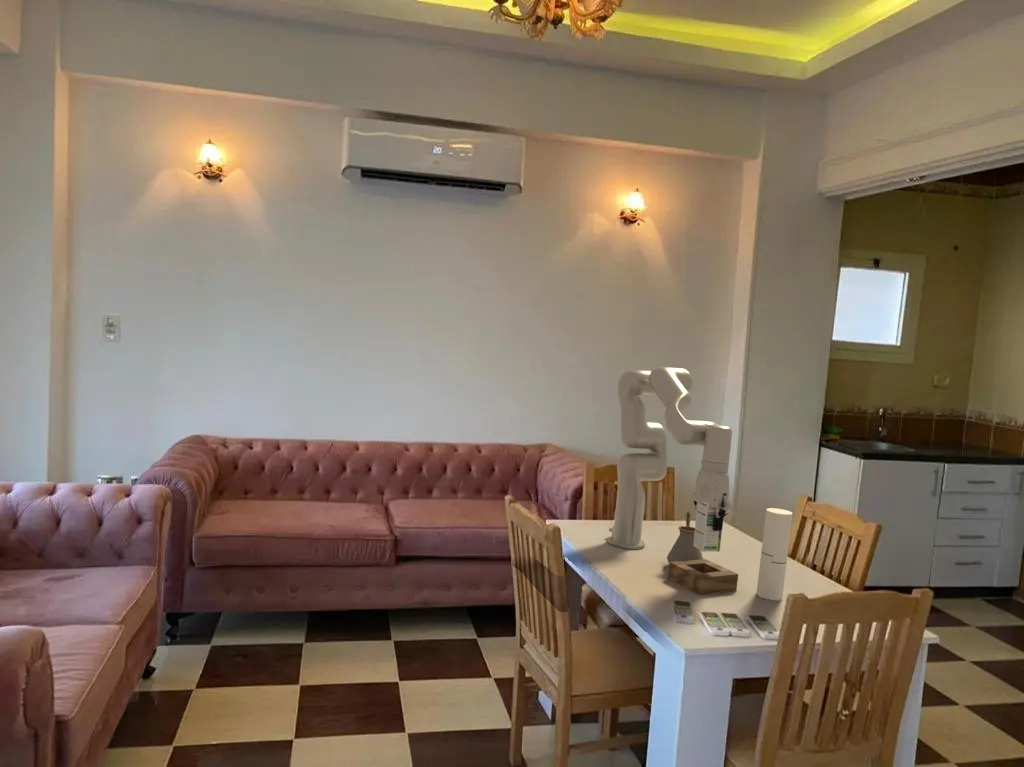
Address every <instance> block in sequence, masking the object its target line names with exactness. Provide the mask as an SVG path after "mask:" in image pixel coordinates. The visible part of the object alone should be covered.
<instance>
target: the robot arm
mask: <svg viewBox="0 0 1024 767" xmlns="http://www.w3.org/2000/svg"><path fill="white" fill-rule="evenodd" d="M692 386H693V377H692V375H691V373H690V372H689V371H688V370H687V369H685V368H681V367H673V366H672V367H670V366H659V367H656V368H654V369H652V370H648V369H647V370H646V369H630V370H626V371H625V372H623V373H622V374H621V376H620V377H619V380H618V382H617V395H618V400H619V406H620V435H621V437H620V438H621V443H622V445H623V447H625V448H627V449H630V450H631V449H632V450H646V451H647V452H646V453H645V452H628V453H625V454H622V455H620V457H619V458H618V461H617V463H616V470H617V471H616V472H617V494H616V502H615V503H616V504H615V513H614V523H613V526H612V527H609V528H608V532H610V533H611V536H609V537H608V538H607V542H608V543H609V544H610V545H611V546H614V547H617V548H621V549H626V550H627V549H628V550H639V549H644V548H645V546H646V542H644V540H642V533H643V532H642V531H643V525H644V524H643V523H644V512H645V505H646V504H645V503H646V492H645V489H644V487H643V485H642V482H656V481H661V480H664V478H665V476H666V474H667V471H668V444H667V442H668V441H667V438H668V437H667V433H666V429H667V431H668V432H669V433H670V435H671V436H672V438H673V439H674V440H675V441H676V442H677V443H678V444H680V445H682V446H699V447H701V446H702V447H703V451H702V460H701V461H700V462H701V468H700V469H699V471H698V472H697V476H696V480H695V481H696V482H695V486H694V492H693V493H692V494H691V498H692V501H693V504H694V506H695V508H694V509H695V511H696V513H697V502H698V503H701V504H703V502H705V501H706V502H708V503H709V507H712V508H714V510H715V515H716V517H714V521H713V531H721V530H722V531H723V525H724V518H726V516H727V515H728V514H729V512H731V510H733V506H732V504H731V502H730V500H729V498H730V497H729V496H730V476H729V474H728V473H729V466H730V464H729V463H730V454H731V449H732V448H731V447H732V439H733V438H732V437H733V430H732V427H730V426H727V425H724V424H718V423H716V422H714V421H710V420H690V419H685V417H684V416H683V414H682V413H683V412H685V411H686V410H687V409H688V408H689V406H690V405H691V404H692V395H691V393H690V392H689V391H691V389H692V388H693V387H692ZM640 396H653V397H654V396H656V397H658V399H659V400H660V401H661V402H662V404H663V405H664V407H665V412H664V424H665V427H666V429H665V428H664V426H663V425H662V424H660V423H659V422H656V421H647V412H646V405H645V404H644V402H643V400H642V399H641V397H640ZM720 504H721V506H720ZM723 504H724V505H723ZM719 509H720V512H719ZM696 513H695V514H696ZM695 523H696V521H695Z"/></svg>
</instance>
